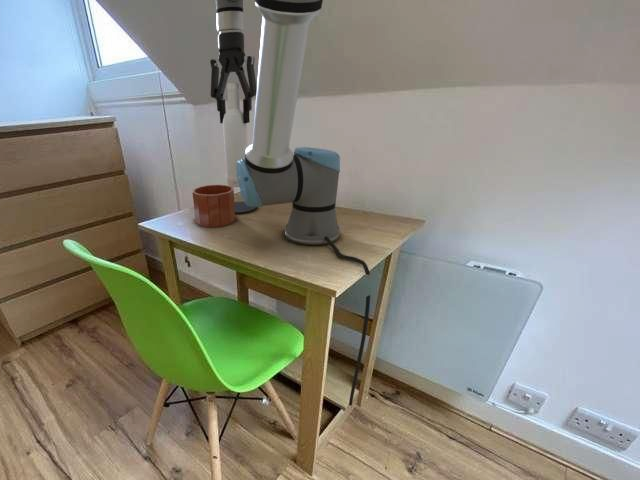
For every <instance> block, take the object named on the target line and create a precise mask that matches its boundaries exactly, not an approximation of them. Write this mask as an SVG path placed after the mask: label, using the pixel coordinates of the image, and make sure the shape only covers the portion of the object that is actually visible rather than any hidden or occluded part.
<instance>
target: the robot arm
mask: <svg viewBox="0 0 640 480" xmlns="http://www.w3.org/2000/svg"><path fill="white" fill-rule="evenodd" d="M323 1H324V0H254V5H255V7H256V8H257V10H258V11H259V13H260V14H261V17H262V18H261V19H262V20H261V29H260V30H261V31H260V42H259V43H260V44H259V57H258V69H257V80H256V72H255V61H256V60H255V59H256V58H255V56H254V55H246V53H245V34H244V33H243V32H244V30H245V24H244V23H245V22H244V0H215V7H216V8H215V9H216V10H215V11H216V30H217V33H219V34H218V35H217V43H218V44H217V46H218V52H219V53H218V57H217V58H215V59H213V58H211V59H210V61H209V62H210V67H211V77H210V97H211V98H212V99H214V100H216V110H217V112H219V123H220V124H223V118H224V115H225V113H226V112H227V108H226V99H224V95H225V90H226V88H227V84H228V78H229V76H230V74H231V73H235V74H236V76H237V79H238V81H239V85H240V88H241V89H242V92H243V96H244V97H243V99H242V112H243V117H244V123H247V124H249V123H251V122H250V120H251V119H250V118H251V117H250V111H252V110H253V106H252V104H253V103H252V99H253V98H254V97H255V105H254V117H253V118H254V119H253V132H252V143H251V144H249V145H248V147H247V148H246V151H245V159H241V160H238V161H237V166H236V168H237V178H238V183H239V187H238V188H239V192H240V195H241V198H242V201H243V202H245V204H246V205H247V206H250V207H256V206H257V207H260V208H263V207H266V206H273V205H282V204H291V203H292V207H291V212H290V215H289V218H288V221H287V224H285V225H286V226H285V228H284V237H285V238H286V239H287V240H288V241H290V242H292V243H294V244H297V245H304V246H323V245H329V246H330V247H331V248H332V249H333V250H334V253H335V254H336V255H337V257H339V259H343V260H349V261H353V262H356V263H358V264H360V265H361V266H362V268H363V270H364V273H365V275H368V276H370V275H371V274H370V273H371V272H370V270H369V267H368V265H367V263H366V261H364V260H362V259H360V258H358V257H355V256H350V255H346V254H342V253H341V252H340V250H339V248H338V247H337V246H336V245H335V244H334V242H336V241H338V239H339V237H340V226H339V224H338V218H337V213H336V205H337V204H336V203H337V195H338V185H339V177H340V172H341V157H340V155H339V153H338V152H336V151H334V150H329V149H326V148H325V149H324V148H317V147H305V146H300V147H296V148H294V150H292V149H291V148H290V142H291V138H292V129H293V124H294V118H295V113H296V107H297V102H298V94H299V89H300V84H301V79H302V72H303V67H304V66H303V65H304V60H305V54H306V48H307V42H308V38H309V31H310V24H311V21H312V19H313V18H315V17H316V16H317V15H318V14H319V13H320V12H321V11H322V7H323ZM244 64H245V65H246V73H247V77H246V73H245V69H244V66H243V65H244ZM220 66H221V69H220ZM370 306H371V294H369V295H367V296H365V309H364V318H363V327H362V333H361V339H360V340H361V341H360V345H359V349H358V355H357V360H356V365H355V370H354V375H353V380H352V384H351V389H350V396H349V401H348V405H349V406H350V407H351V406H352V405H353V401H354V396H355V390H356V385H357V382H358V376H359V371H360V367H361V362H362V357H363V353H364V347H365V344H366V343H365V342H366V337H367V331H368V323H369V316H370Z"/></svg>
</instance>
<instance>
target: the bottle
mask: <svg viewBox="0 0 640 480" xmlns="http://www.w3.org/2000/svg"><path fill="white" fill-rule="evenodd" d="M240 89H241V86H240V82H227V83H226V91H227V107H228V109H227V110H226V113H225V115H224V118H223V123H222V132H223V133H222V134H223V148H224V149H223V150H224V164H225V182H226V185H228V186H231V187H233V188H239V183H238V178H237V168H236V166H237V161H238V160H241V159H245V151H246V148H247V147H248V146H249V145H248V123H244V117H243V110H242V109H241V105H240V103H241V101H240V100H241V99H240Z"/></svg>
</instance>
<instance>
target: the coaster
mask: <svg viewBox="0 0 640 480" xmlns="http://www.w3.org/2000/svg"><path fill="white" fill-rule="evenodd" d="M234 206H235V215H242V214H249V213H252V212H254V211H256V210H257V208H258V206H256V207H250V206H247V205H246V204H245V202H244V201H234Z"/></svg>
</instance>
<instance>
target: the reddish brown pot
mask: <svg viewBox="0 0 640 480" xmlns="http://www.w3.org/2000/svg"><path fill="white" fill-rule="evenodd" d="M191 193H192V200H193V201H192V202H193V210H194V217H195V223H196V224H197V225H198V226H200V227H205V228H206V227H207V228H219V227H224V226H228V225H231V224H233V223H234V222H236V214H235V206H234V202H235V189H234V187H231V186H228V185H227V184H206V185H202V186H198V187H196V188H194V189H192V192H191Z"/></svg>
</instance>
